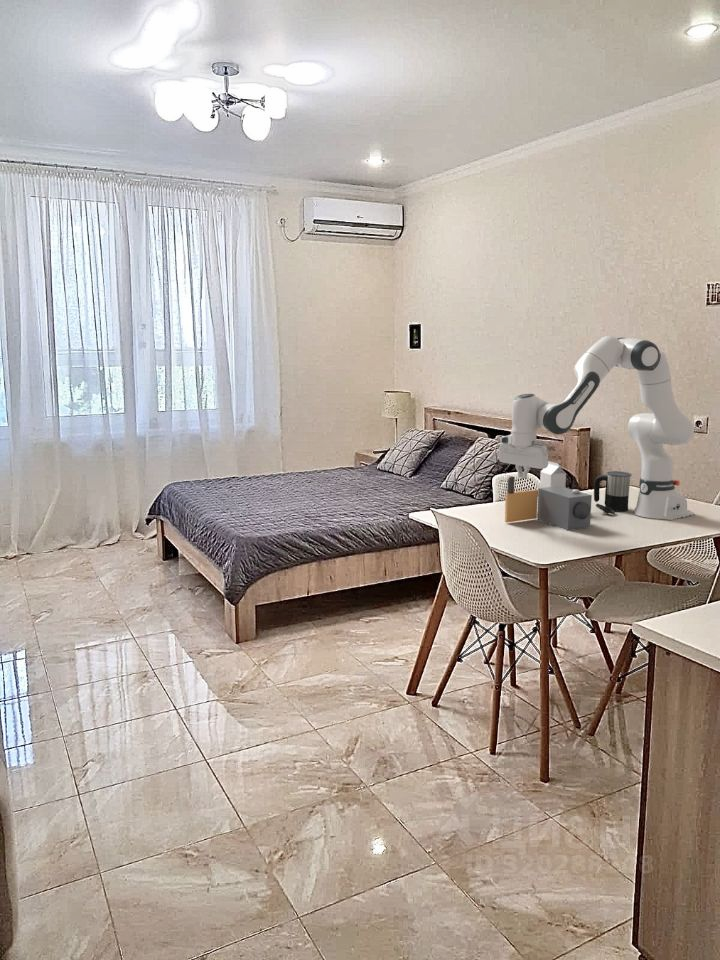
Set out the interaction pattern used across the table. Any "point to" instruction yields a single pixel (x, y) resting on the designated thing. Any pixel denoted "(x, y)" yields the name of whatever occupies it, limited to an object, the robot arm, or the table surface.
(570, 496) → the camera body
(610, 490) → the milk frother
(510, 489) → the tan flat panel
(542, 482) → the milk carton
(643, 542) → the table surface
